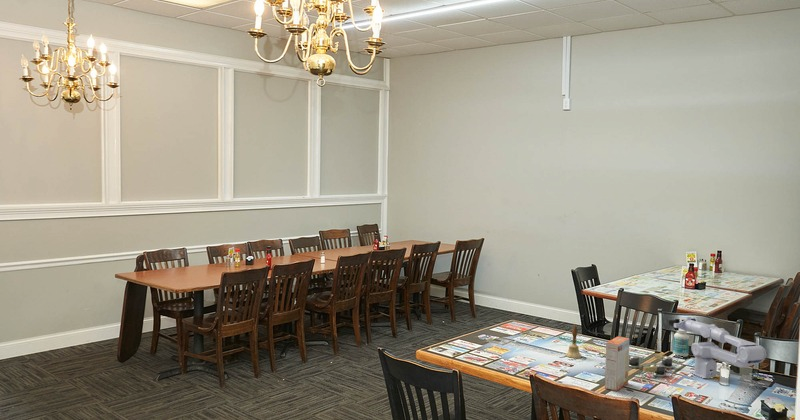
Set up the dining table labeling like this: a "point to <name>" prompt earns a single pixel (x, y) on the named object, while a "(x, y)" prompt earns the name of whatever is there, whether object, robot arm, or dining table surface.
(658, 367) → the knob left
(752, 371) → the dining table surface
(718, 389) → the dining table surface
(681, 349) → the pill bottle
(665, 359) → the knob
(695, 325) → the robot arm
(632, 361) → the knob
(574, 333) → the hand bell
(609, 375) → the cracker box
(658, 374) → the levelling base
